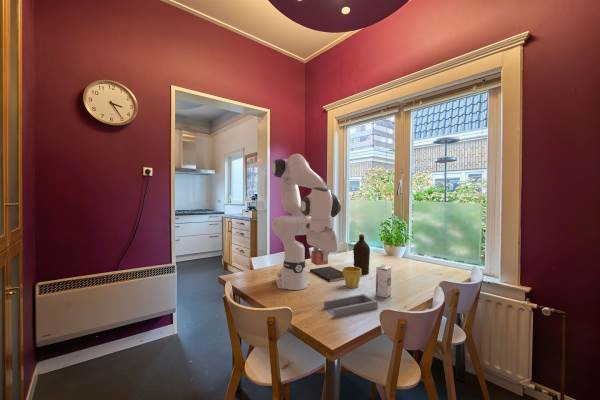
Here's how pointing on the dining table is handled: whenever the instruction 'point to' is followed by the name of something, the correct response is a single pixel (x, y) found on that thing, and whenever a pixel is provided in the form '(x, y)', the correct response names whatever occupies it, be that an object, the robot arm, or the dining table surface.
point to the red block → (317, 257)
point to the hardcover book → (328, 273)
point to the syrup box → (383, 281)
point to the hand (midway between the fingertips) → (320, 259)
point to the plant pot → (352, 276)
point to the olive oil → (361, 255)
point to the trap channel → (344, 308)
